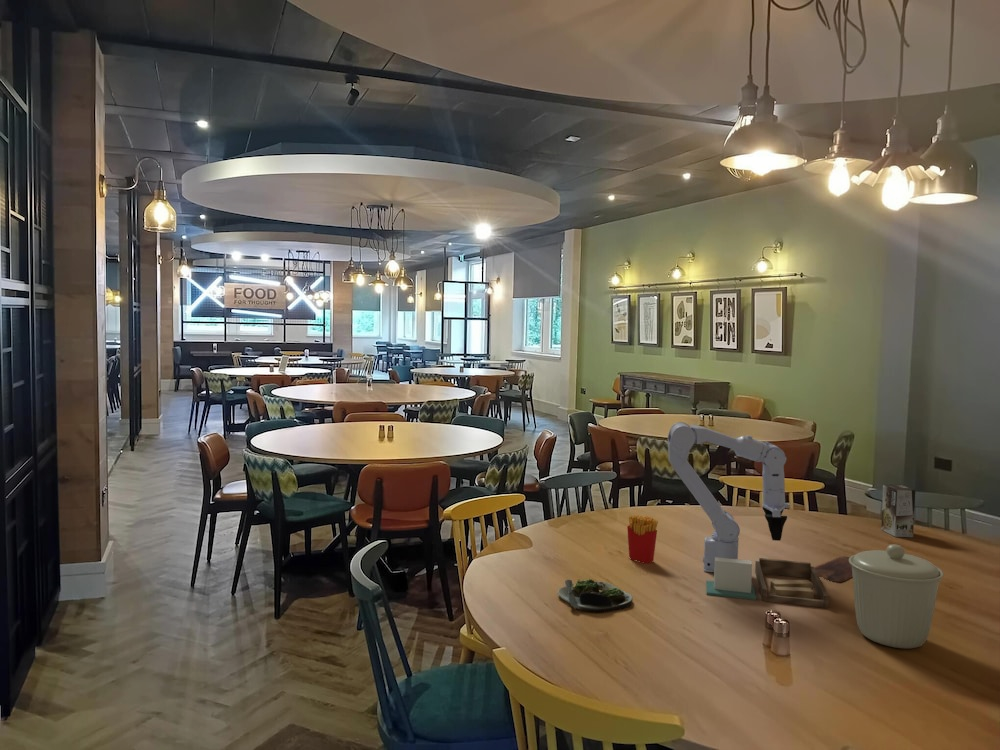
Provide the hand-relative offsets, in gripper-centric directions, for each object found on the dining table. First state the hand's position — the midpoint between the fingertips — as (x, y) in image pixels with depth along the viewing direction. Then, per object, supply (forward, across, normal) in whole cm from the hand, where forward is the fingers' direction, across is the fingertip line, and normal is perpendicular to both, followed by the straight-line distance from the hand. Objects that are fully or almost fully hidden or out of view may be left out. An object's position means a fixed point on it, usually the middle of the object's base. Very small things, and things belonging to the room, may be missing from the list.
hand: (775, 536), depth 195 cm
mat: (+10, -19, +13) cm, 25 cm away
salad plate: (+8, -37, +45) cm, 59 cm away
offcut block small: (+11, -20, -2) cm, 23 cm away
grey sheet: (+9, -19, +12) cm, 24 cm away
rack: (+10, -12, -2) cm, 16 cm away
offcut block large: (+11, -16, -2) cm, 19 cm away
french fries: (+8, -1, +37) cm, 38 cm away
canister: (+12, -37, -21) cm, 44 cm away
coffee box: (+14, +56, -43) cm, 72 cm away
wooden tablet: (+13, +10, -18) cm, 25 cm away
